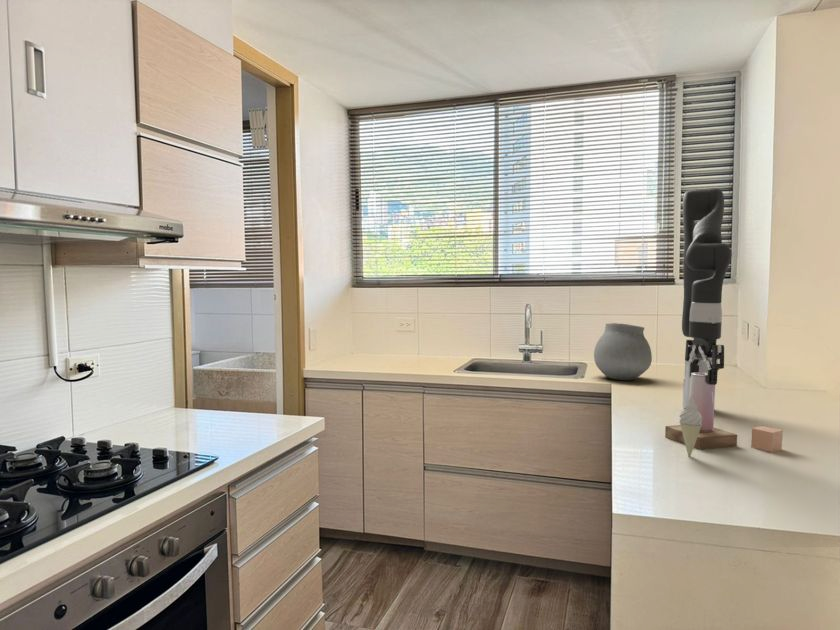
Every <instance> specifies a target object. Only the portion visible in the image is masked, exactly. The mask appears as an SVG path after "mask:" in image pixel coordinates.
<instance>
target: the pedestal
mask: <svg viewBox="0 0 840 630" xmlns="http://www.w3.org/2000/svg"><path fill="white" fill-rule="evenodd" d="M664 431H665V432H664V437H665V438H667V439H669V440H672V441H675V442H678V443H681V444H684V445H685V441H684V437H683V433H682V429H681V425H680V424H679V425H678V424H677V425H676V424H675V425H665V430H664ZM737 445H738V434H737V433H733V432H730V431H727V430H724V429H720V428H717V427H714V426H713V430H712V431H711V432H708V433H704V432H699V434H698V437H697V440H696V443H695V445H694V448H693V449H697V450H707V449H709V450H711V449H718V448H719V449H720V448H729V447H737Z"/></svg>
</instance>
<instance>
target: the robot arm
mask: <svg viewBox="0 0 840 630" xmlns="http://www.w3.org/2000/svg"><path fill="white" fill-rule="evenodd" d="M724 210H725V195H724V193H723V191H722V189H719V188H702V189H692V190H691V189H690V190H687V191H685V192H684V195H683V199H682V218H683V220H682V221H683V234H684V235H683V240H684V241H683V242H684V243H683V244H684V246H683V260H682V261H683V265H682V267H683V269H682V271H683V273H682V274H683V278H682V279H683V302H682V304H683V305H682V316H681V332H682V334H683V336H684V337H687V338H691V339H686V341H685V352H684V353H685V354H684V356H685V357H684V378H683V387H682V388H683V389H682V407H683V408H684V409H685V406H686V404H687V403H688V401H689V394H690V377H691V373H693V372H702V373H708V374H707V384H709V385H715V386H716V385H717V384H718V372H719V371H720V370H722V369H724V368H725V346H724V344H717V340H719V339H721V338H722V325H723V324H722V321H723V308H722V300H723V299H722V297H723V295H722V293H723V285H724V280H725V276H726V274H727V270H728V267H729V266H730V263H731V260H732V257H733V255H732V250H731V248H730V246H729V245H728V244H727V243H723V239H722V236H723V235H722V224H723V219H724V213H725V211H724ZM696 221H698V222H697V223H696Z"/></svg>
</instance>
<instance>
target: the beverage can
mask: <svg viewBox="0 0 840 630" xmlns="http://www.w3.org/2000/svg"><path fill="white" fill-rule="evenodd" d="M707 374H708V373H702V372H693V373H691V377H690V394H689V399H690V397H691V395H692V397H693V399H694V402H695V404H696V405H697V410H698V411H699V413H700V414H701V416H702V422H701V423H702V424H703V425H702V426H701V428H700V431H699V432H704V433H708V432H711V431H712V430H713V427H714V423H715V422H714V421H715V419H714V418H715V402H716V401H715V399H716V385H709V384H707Z"/></svg>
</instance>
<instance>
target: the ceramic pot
mask: <svg viewBox="0 0 840 630" xmlns="http://www.w3.org/2000/svg"><path fill="white" fill-rule="evenodd" d="M644 332H645V327H644V326H640V325H635V324H627V323H619V322H618V323H617V322H616V323H615V322H612V323H610V322H609V323H605V326H604V332H603V333H602V334H601V336H600V337H599V339H598V340H597V342H596V343H595V346H594V351H593V359H594V363H595V365H596V367H597V368H598V370H599V371H600V372H601V373H602V375H604V376H605V377H607V378H608V379H612V380H619V381H633V380H635V379H637V378H638V377H640V376H641V375H643V374H644V373H645V372H646V371H648V369H649V368H650V367H651V365H652V361H653V360H652V359H653V356H652V350H651V347H650V343H649V342H648V339H646V337H645V333H644Z"/></svg>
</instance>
